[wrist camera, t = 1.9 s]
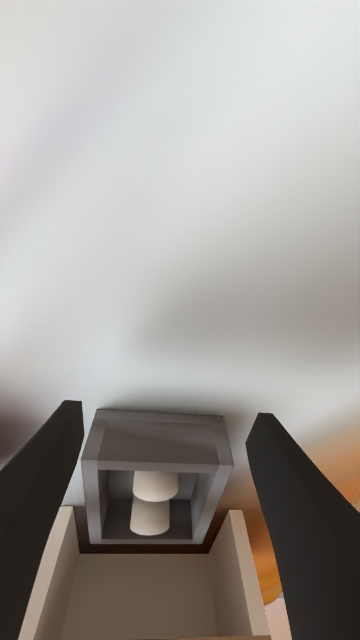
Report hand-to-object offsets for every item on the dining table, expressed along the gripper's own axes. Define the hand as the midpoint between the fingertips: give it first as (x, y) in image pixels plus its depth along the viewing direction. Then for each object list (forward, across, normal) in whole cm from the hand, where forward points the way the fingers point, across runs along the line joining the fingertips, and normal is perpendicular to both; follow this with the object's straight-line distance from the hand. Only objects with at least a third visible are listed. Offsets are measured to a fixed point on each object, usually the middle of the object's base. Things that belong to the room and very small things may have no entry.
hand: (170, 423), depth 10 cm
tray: (+4, 0, +9) cm, 10 cm away
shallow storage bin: (+4, 0, +22) cm, 22 cm away
